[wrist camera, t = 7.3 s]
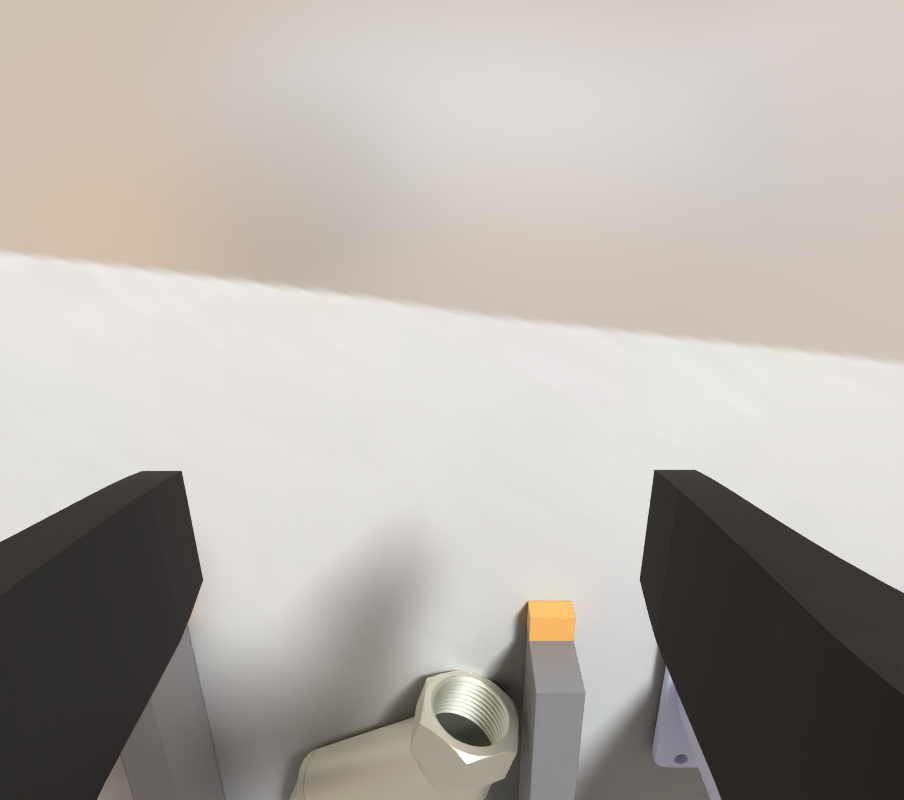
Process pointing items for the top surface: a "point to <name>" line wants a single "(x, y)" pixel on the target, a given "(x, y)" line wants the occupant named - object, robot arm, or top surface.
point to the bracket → (542, 741)
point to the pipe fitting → (423, 749)
